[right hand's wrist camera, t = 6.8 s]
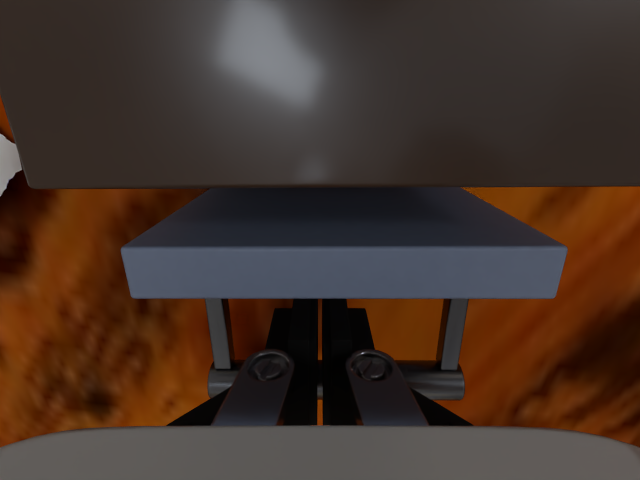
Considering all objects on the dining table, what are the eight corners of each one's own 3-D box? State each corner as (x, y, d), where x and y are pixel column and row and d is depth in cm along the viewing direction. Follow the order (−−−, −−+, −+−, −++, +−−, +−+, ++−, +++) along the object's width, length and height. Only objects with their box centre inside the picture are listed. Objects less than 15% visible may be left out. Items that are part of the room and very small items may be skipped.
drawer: (420, 315, 17) (504, 494, 9) (244, 315, 17) (173, 491, 9) (475, -183, 11) (918, -1053, 3) (196, -176, 11) (-166, -984, 3)
